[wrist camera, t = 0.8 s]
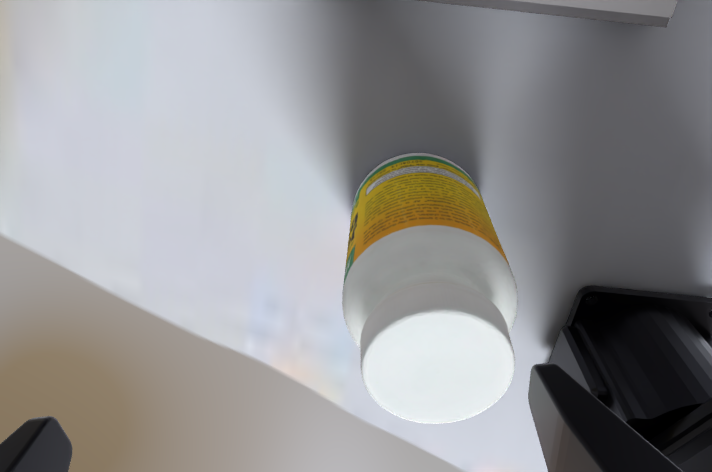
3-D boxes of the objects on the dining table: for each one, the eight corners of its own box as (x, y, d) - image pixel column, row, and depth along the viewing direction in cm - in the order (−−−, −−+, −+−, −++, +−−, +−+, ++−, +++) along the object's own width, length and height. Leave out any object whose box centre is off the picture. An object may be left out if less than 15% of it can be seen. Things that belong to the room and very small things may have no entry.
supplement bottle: (491, 247, 23) (556, 425, 14) (372, 275, 24) (368, 458, 15) (466, 131, 20) (528, 265, 12) (334, 167, 21) (306, 315, 13)
